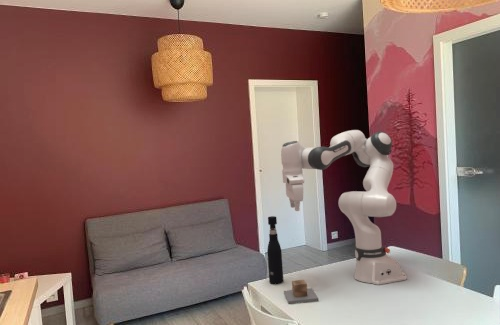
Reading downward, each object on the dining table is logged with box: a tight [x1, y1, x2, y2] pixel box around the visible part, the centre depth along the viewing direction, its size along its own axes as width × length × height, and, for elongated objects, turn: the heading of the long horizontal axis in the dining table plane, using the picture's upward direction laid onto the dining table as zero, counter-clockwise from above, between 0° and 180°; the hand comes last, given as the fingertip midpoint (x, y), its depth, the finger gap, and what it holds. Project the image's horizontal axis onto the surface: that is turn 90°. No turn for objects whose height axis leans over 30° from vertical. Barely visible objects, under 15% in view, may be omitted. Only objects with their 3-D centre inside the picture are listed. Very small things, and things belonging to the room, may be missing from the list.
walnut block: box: [291, 279, 308, 297], centre depth 154 cm, size 5×5×5 cm
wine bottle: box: [267, 215, 284, 285], centre depth 173 cm, size 6×6×30 cm
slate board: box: [283, 287, 320, 305], centre depth 154 cm, size 12×11×1 cm
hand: (295, 209), depth 168 cm, fingers open, 8 cm apart
